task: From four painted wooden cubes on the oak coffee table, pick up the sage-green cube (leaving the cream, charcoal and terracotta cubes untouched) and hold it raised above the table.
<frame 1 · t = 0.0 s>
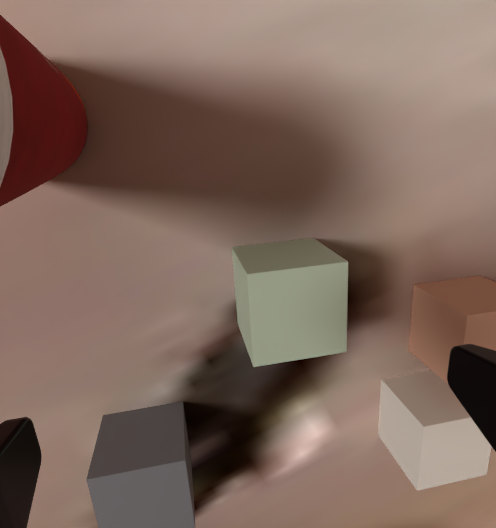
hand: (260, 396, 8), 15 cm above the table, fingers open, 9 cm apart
charcoal cube: (149, 438, 25), on the table
sage cube: (274, 281, 24), on the table
cream cube: (410, 401, 29), on the table
paper cup: (27, 120, 19), on the table
terracotta cube: (443, 313, 27), on the table
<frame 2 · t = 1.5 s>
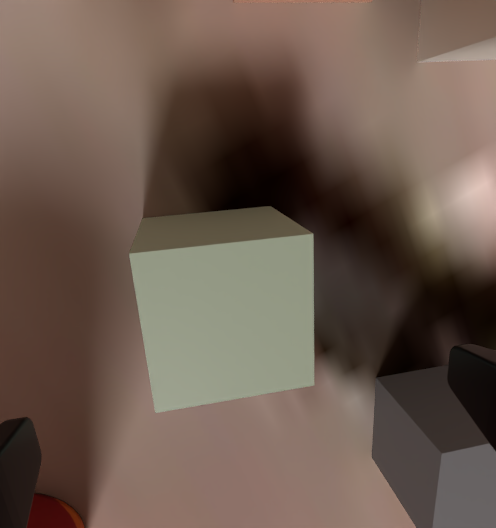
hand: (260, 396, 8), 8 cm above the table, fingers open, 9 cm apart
charcoal cube: (416, 409, 20), on the table
sage cube: (213, 271, 16), on the table
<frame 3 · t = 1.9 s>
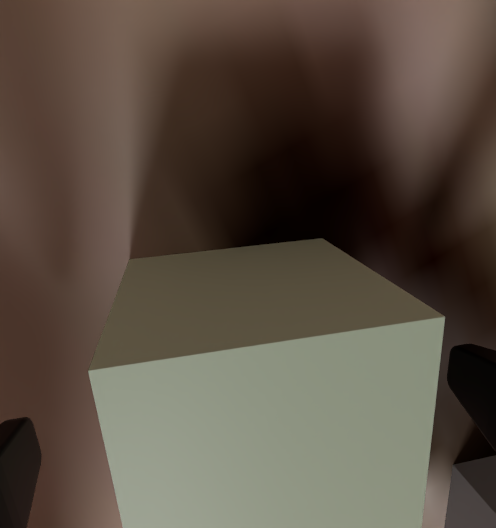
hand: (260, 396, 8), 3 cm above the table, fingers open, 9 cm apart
sage cube: (236, 333, 11), on the table
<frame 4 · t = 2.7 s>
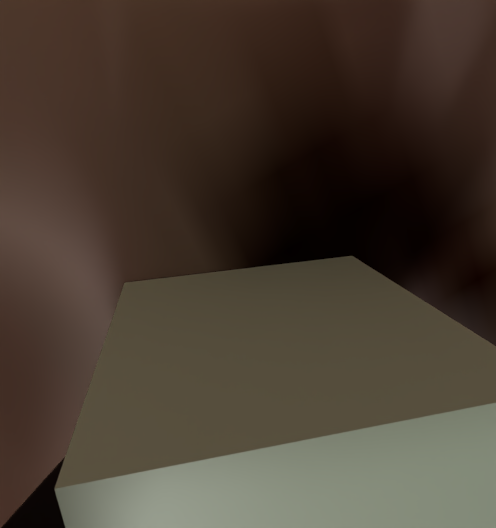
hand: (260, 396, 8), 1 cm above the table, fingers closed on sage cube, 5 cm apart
sage cube: (250, 368, 9), on the table, touching gripper
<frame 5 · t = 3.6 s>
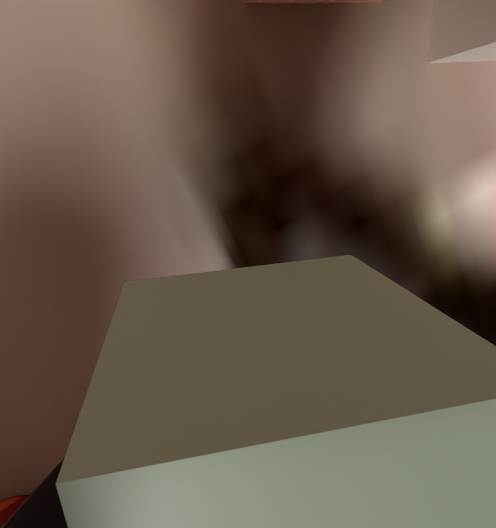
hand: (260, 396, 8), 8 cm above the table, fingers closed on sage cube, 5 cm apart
sage cube: (249, 366, 9), point 7 cm above the table, touching gripper
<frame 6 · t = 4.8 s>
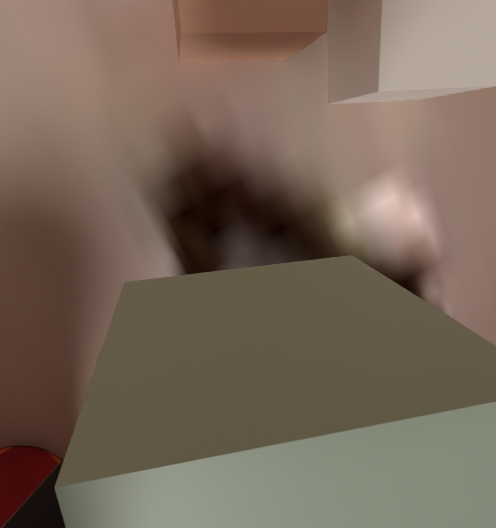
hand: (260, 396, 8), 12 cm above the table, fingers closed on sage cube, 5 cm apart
sage cube: (250, 367, 9), point 11 cm above the table, touching gripper
cream cube: (376, 46, 18), on the table
paper cup: (22, 482, 22), on the table
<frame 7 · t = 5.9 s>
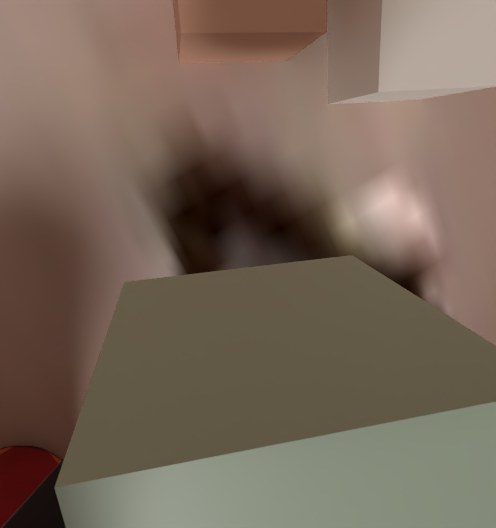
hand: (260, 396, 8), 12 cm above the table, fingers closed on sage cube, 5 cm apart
sage cube: (250, 367, 9), point 11 cm above the table, touching gripper
cream cube: (376, 46, 18), on the table
paper cup: (22, 482, 22), on the table
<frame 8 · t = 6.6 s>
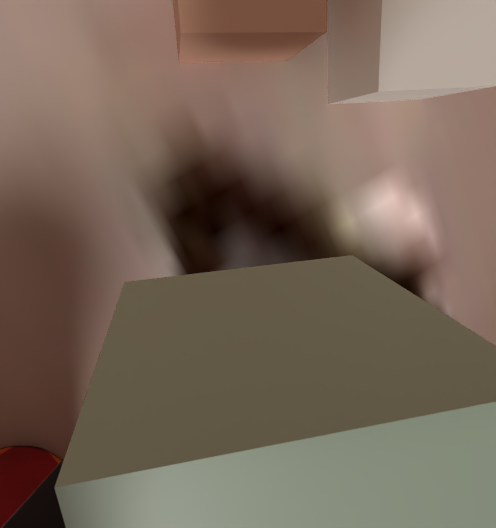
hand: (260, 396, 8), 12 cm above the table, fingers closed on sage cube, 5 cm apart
sage cube: (250, 367, 9), point 11 cm above the table, touching gripper
cream cube: (376, 46, 18), on the table
paper cup: (22, 482, 22), on the table
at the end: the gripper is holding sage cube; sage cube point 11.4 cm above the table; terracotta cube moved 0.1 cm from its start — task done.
